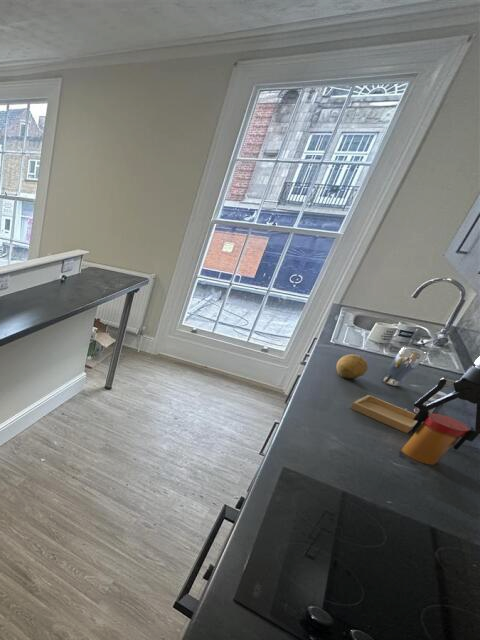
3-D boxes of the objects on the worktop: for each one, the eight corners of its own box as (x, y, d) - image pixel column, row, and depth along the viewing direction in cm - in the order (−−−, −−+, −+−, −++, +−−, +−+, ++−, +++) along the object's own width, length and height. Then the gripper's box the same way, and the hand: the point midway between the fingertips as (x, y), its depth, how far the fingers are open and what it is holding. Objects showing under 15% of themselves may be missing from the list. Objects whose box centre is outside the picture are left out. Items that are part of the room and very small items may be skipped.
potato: (375, 356, 161) (347, 346, 165) (373, 367, 152) (344, 356, 157) (358, 375, 166) (332, 365, 171) (355, 387, 158) (328, 376, 163)
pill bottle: (429, 413, 143) (447, 392, 138) (435, 420, 139) (453, 398, 134) (410, 408, 145) (427, 387, 141) (415, 414, 141) (432, 393, 137)
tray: (420, 423, 136) (424, 417, 135) (406, 433, 130) (411, 427, 128) (364, 400, 147) (368, 394, 146) (349, 408, 141) (353, 402, 140)
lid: (461, 440, 108) (467, 434, 107) (420, 424, 114) (425, 418, 113) (466, 431, 113) (471, 425, 112) (425, 416, 119) (430, 410, 118)
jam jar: (427, 452, 121) (454, 421, 115) (441, 467, 115) (472, 435, 109) (396, 444, 123) (422, 413, 117) (409, 459, 117) (437, 427, 111)
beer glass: (380, 377, 166) (403, 344, 159) (402, 384, 162) (427, 351, 154) (377, 381, 162) (401, 348, 155) (400, 389, 158) (425, 355, 150)
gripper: (556, 385, 99) (487, 455, 111) (439, 351, 113) (388, 416, 125) (557, 393, 95) (485, 464, 106) (435, 356, 109) (383, 423, 120)
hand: (433, 438), depth 115 cm, fingers closed on lid, 8 cm apart
